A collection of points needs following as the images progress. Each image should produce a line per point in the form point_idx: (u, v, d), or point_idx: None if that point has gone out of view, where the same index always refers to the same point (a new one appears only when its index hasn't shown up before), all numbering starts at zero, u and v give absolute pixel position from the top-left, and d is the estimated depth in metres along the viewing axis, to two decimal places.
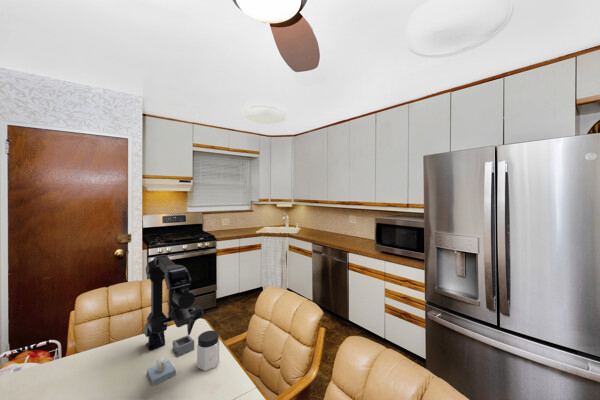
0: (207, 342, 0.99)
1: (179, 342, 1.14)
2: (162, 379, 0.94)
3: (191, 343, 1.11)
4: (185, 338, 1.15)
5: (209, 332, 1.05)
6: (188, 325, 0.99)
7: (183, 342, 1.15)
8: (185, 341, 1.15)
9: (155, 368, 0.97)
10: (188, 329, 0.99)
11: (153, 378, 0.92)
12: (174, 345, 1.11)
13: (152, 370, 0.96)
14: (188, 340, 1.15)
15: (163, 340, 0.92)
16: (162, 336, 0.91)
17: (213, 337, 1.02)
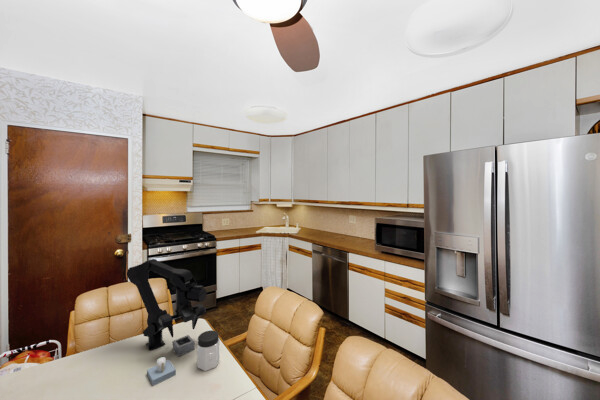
0: (207, 342, 0.99)
1: (179, 342, 1.14)
2: (162, 379, 0.94)
3: (191, 343, 1.11)
4: (185, 338, 1.15)
5: (209, 332, 1.05)
6: (193, 321, 1.16)
7: (183, 342, 1.15)
8: (185, 341, 1.15)
9: (155, 368, 0.97)
10: (193, 324, 1.15)
11: (153, 378, 0.92)
12: (174, 345, 1.11)
13: (152, 370, 0.96)
14: (188, 340, 1.15)
15: (172, 333, 1.08)
16: (171, 330, 1.07)
17: (213, 337, 1.02)
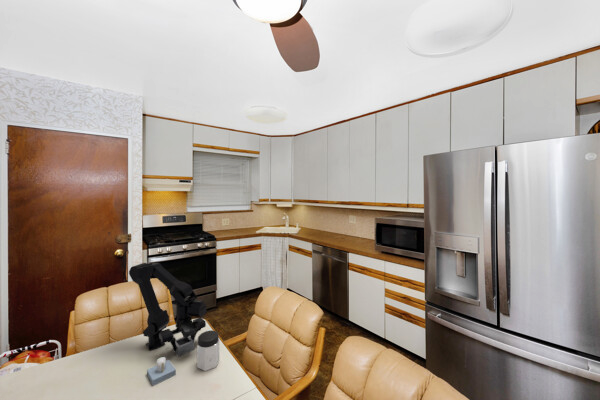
0: (207, 342, 0.99)
1: (179, 342, 1.14)
2: (162, 379, 0.94)
3: (191, 343, 1.11)
4: (185, 338, 1.15)
5: (209, 332, 1.05)
6: (191, 336, 1.15)
7: (183, 342, 1.15)
8: (185, 341, 1.15)
9: (155, 368, 0.97)
10: None
11: (153, 378, 0.92)
12: None
13: (152, 370, 0.96)
14: (188, 340, 1.15)
15: (174, 347, 1.09)
16: (173, 344, 1.08)
17: (213, 337, 1.02)
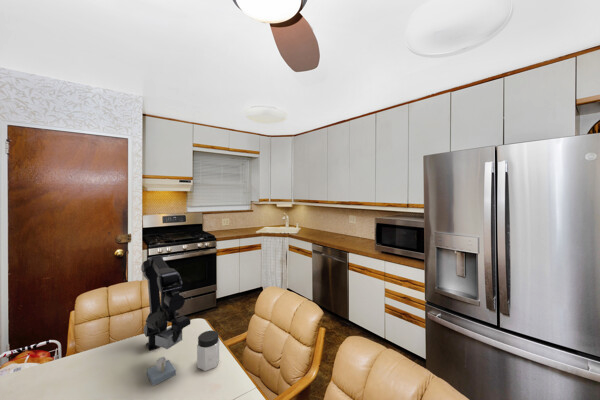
0: (207, 342, 0.99)
1: (172, 332, 1.04)
2: (162, 379, 0.94)
3: (165, 339, 0.97)
4: None
5: (209, 332, 1.05)
6: None
7: None
8: None
9: (155, 368, 0.97)
10: None
11: (153, 378, 0.92)
12: None
13: (152, 370, 0.96)
14: None
15: None
16: (158, 329, 1.02)
17: (213, 337, 1.02)
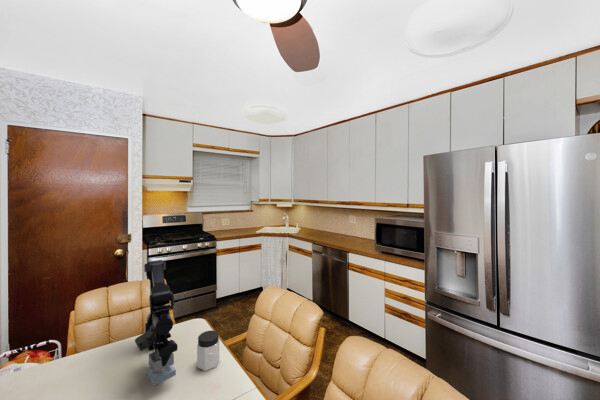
0: (207, 342, 0.99)
1: None
2: (162, 379, 0.94)
3: (152, 362, 0.93)
4: None
5: (209, 332, 1.05)
6: None
7: None
8: (169, 358, 0.97)
9: None
10: None
11: (153, 378, 0.92)
12: None
13: None
14: None
15: None
16: (154, 347, 0.99)
17: (213, 337, 1.02)
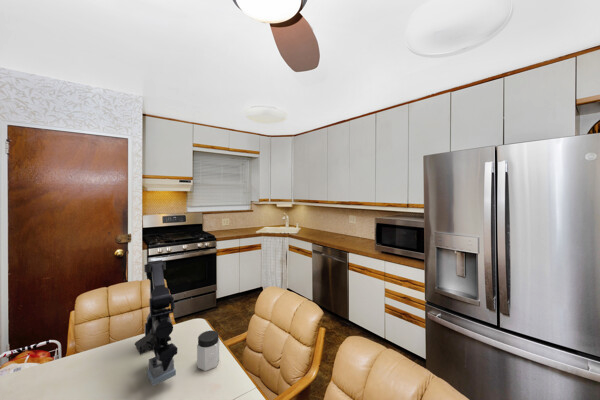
0: (207, 342, 0.99)
1: None
2: (162, 379, 0.94)
3: (152, 368, 0.93)
4: None
5: (209, 332, 1.05)
6: None
7: None
8: None
9: None
10: None
11: (153, 378, 0.92)
12: None
13: None
14: None
15: None
16: None
17: (213, 337, 1.02)
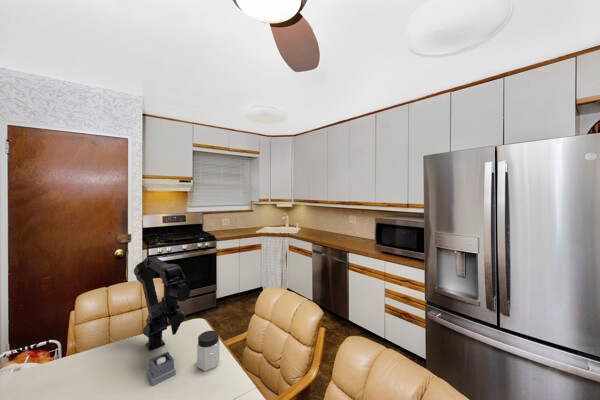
0: (207, 342, 0.99)
1: (167, 358, 0.99)
2: (162, 379, 0.94)
3: (152, 368, 0.93)
4: None
5: (209, 332, 1.05)
6: None
7: None
8: None
9: None
10: None
11: (153, 378, 0.92)
12: None
13: None
14: None
15: (165, 321, 1.11)
16: (164, 317, 1.11)
17: (213, 337, 1.02)
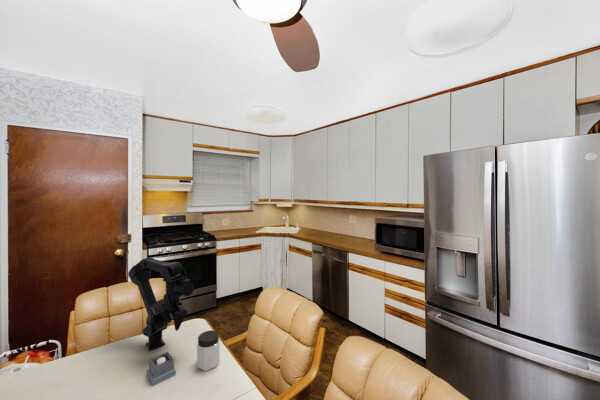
0: (207, 342, 0.99)
1: (167, 358, 0.99)
2: (162, 379, 0.94)
3: (152, 368, 0.93)
4: None
5: (209, 332, 1.05)
6: None
7: None
8: None
9: None
10: None
11: (153, 378, 0.92)
12: None
13: None
14: None
15: (167, 318, 1.13)
16: (166, 314, 1.13)
17: (213, 337, 1.02)
